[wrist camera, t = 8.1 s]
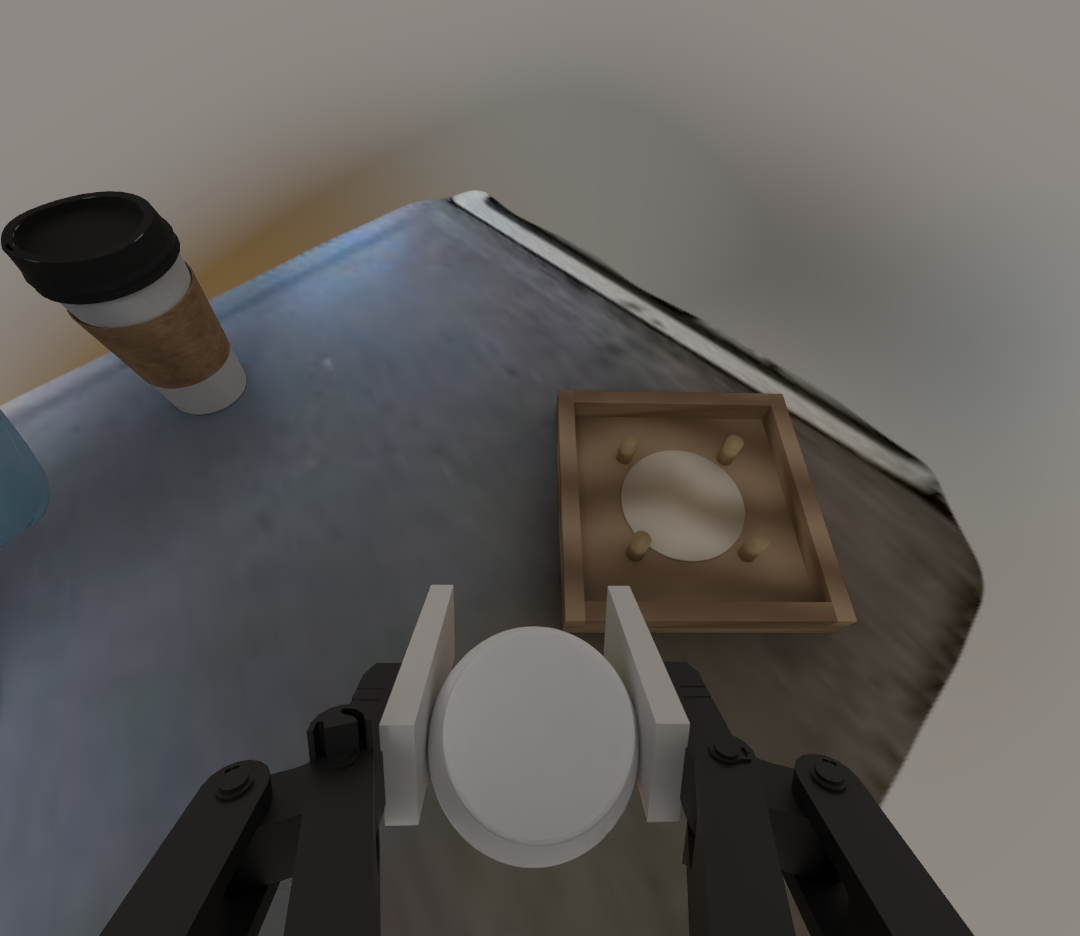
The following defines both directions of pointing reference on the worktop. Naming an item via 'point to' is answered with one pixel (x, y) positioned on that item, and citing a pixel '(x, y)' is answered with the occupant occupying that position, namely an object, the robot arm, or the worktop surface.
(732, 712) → the worktop surface
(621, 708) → the supplement bottle
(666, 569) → the pin tray
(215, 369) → the coffee cup
